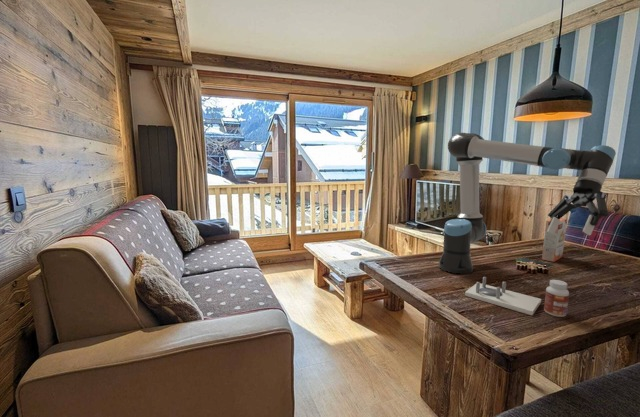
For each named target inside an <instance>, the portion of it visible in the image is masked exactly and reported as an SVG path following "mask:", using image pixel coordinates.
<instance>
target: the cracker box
mask: <svg viewBox="0 0 640 417" xmlns="http://www.w3.org/2000/svg"><path fill="white" fill-rule="evenodd" d="M551 219H552V218H550V219H548V220H545V228H544V236H543V237H544V238H543V248H542V255H541V256H542V257H541V260H542V261H547V262H552V263H556V261H558V260H559V259H562V258H563V256H564V255H563V252H564V246H565V239H566V231H567V224H568V219H567V218H563V217H561V218H560V219H559V220H560V223H559V225H558V227H557V229H556V232H555V234H554V235H551V234H550V233H548V232H547V230H548V227H549V223H550V221H551Z"/></svg>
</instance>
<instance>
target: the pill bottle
mask: <svg viewBox="0 0 640 417" xmlns="http://www.w3.org/2000/svg"><path fill="white" fill-rule="evenodd" d="M569 297H570V292H569V290H568V283H567V282H565V281H563V280H559V279H550V280H549V286H547V287H546V289H545V298H544V304H543V305H544V306H543V310H544V312H546V314H548V315H551V316H553V317H559V318H561V317H562V318H563V317H566V316H567V314H568V306H569Z"/></svg>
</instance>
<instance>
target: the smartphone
mask: <svg viewBox="0 0 640 417" xmlns="http://www.w3.org/2000/svg"><path fill="white" fill-rule="evenodd" d="M515 261H516V262H520V261H522V262H521V263H523V262H533V263H536V264H541V265H546V266H547V267H548V268H547V269H550V268H554V267H555V265H554V264H552V263H547V262H543V261H539V260H536V259H531V258H528V257H520V258H516V259H515Z"/></svg>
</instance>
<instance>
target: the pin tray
mask: <svg viewBox="0 0 640 417" xmlns="http://www.w3.org/2000/svg"><path fill="white" fill-rule="evenodd" d="M506 288H507V282H506V281H502V284H501V287H500V286H497V287H496V286H493V285H489V284H487V277H486V276H483V277H482V283H481V282H480V281H476V283H475V284H474V285H472V286H471V287H469V288H468V289H466V291H464V296H466V297H468V298H473V299H476V300H478V301H482V302H484V303H489V304H492V305H496V306H499V307H502V308H506V309H509V310H512V311H515V312H519V313H522V314H525V315H528V316H529V315H530V316H533V315H534V314H535V313H536V312H537V310H538V308H539V306H540V305H541V304H542V298H539V297H536V296H531V295H528V294H524V293H520V292H515V291H511V290H508V289H506Z"/></svg>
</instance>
